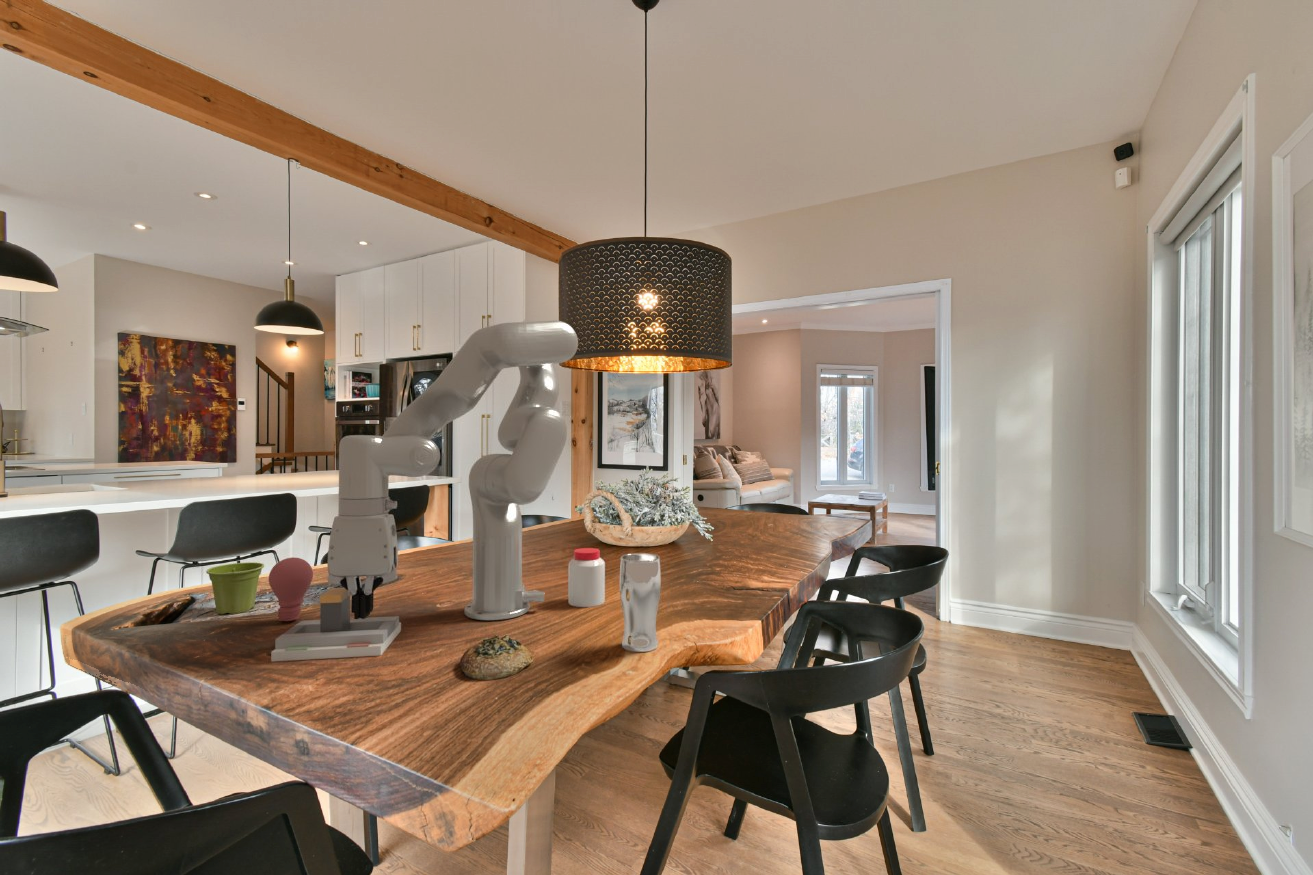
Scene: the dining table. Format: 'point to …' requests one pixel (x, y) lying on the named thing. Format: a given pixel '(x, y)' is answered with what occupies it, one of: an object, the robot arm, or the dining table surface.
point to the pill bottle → (586, 578)
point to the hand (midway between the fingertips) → (362, 616)
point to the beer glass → (640, 600)
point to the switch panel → (334, 651)
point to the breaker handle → (335, 610)
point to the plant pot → (235, 586)
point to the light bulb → (290, 586)
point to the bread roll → (495, 658)
